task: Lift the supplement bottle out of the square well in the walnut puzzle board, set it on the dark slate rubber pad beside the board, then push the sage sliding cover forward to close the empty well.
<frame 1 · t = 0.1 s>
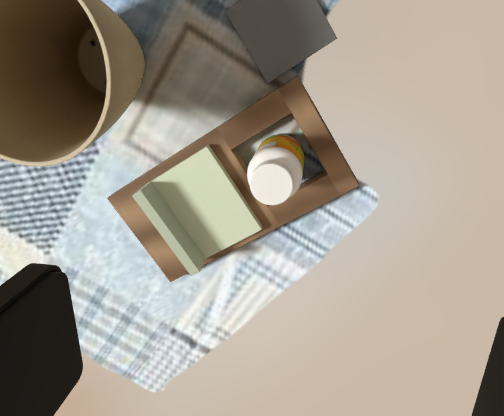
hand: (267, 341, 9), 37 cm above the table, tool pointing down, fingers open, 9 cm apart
well board: (229, 186, 48), on the table
supplement bottle: (280, 156, 46), resting in well board
slide cover: (199, 211, 45), point 4 cm above the table, slide at 0.0 cm
plant pot: (114, 58, 44), on the table
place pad: (281, 25, 41), on the table
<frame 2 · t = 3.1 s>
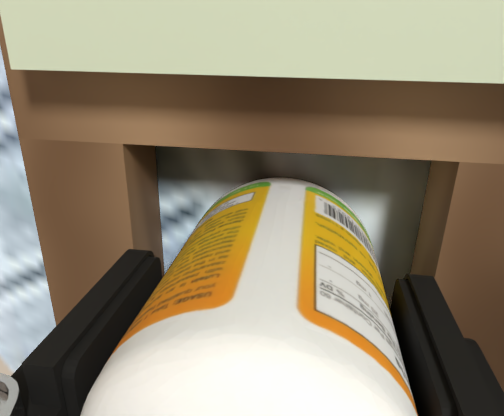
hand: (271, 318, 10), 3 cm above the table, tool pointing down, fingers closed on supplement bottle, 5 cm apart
well board: (294, 2, 10), on the table
supplement bottle: (282, 254, 13), resting in well board, touching gripper
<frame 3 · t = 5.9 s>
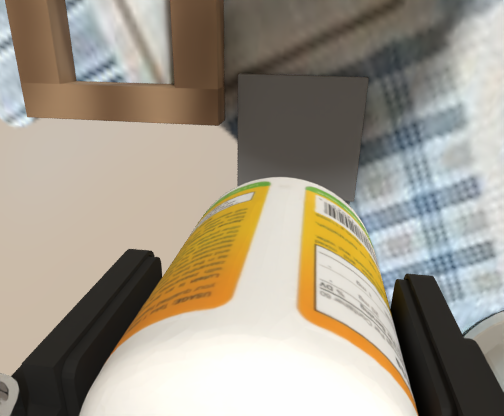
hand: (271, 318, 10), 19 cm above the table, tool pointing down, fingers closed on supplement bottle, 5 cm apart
supplement bottle: (282, 254, 13), point 16 cm above the table, touching gripper
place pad: (298, 138, 27), on the table
when the fingers open (5 cm above the table, at t = 9.0 s): supplement bottle drops 1 cm, resting on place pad.
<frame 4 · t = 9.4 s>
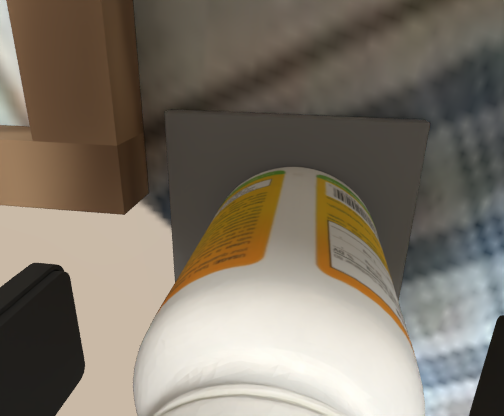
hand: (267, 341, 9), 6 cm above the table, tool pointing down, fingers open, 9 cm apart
supplement bottle: (293, 237, 14), resting on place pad
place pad: (286, 229, 14), on the table
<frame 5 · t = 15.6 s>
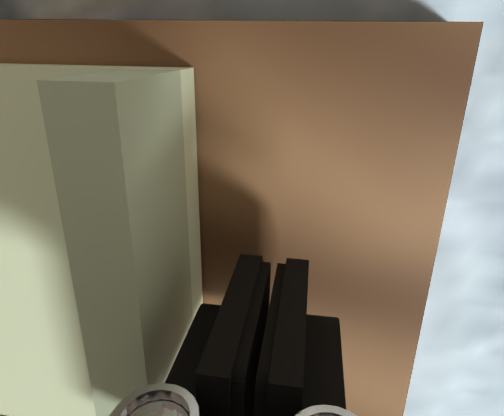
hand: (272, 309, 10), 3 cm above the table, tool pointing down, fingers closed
well board: (27, 225, 14), on the table
slide cover: (7, 298, 10), point 4 cm above the table, slide at 0.6 cm, touching gripper
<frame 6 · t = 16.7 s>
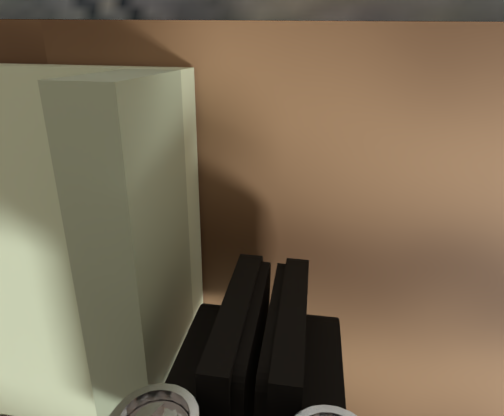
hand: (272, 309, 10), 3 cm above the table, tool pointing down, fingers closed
well board: (202, 239, 14), on the table
slide cover: (7, 298, 10), point 4 cm above the table, slide at 7.0 cm, touching gripper
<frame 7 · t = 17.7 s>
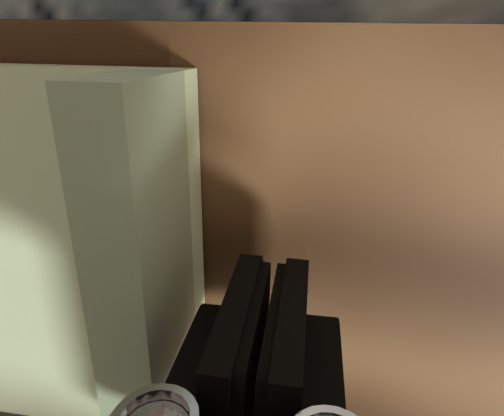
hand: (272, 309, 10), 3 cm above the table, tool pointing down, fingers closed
well board: (296, 245, 13), on the table
slide cover: (11, 296, 10), point 4 cm above the table, slide at 10.0 cm, touching gripper
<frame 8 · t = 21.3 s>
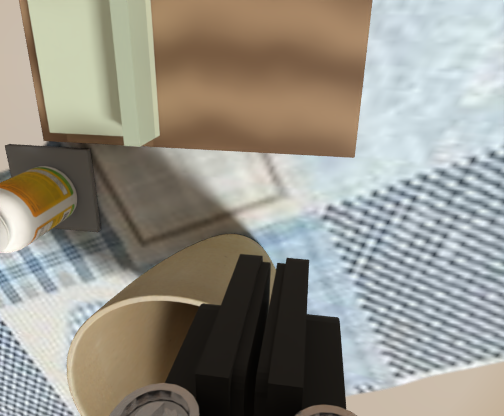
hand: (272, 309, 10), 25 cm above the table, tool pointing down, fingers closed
well board: (195, 63, 33), on the table
supplement bottle: (53, 191, 39), resting on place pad
slide cover: (85, 63, 30), point 4 cm above the table, slide at 10.0 cm
plant pot: (232, 267, 39), on the table
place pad: (56, 187, 39), on the table
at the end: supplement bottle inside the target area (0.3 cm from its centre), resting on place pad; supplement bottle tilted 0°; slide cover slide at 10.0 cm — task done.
